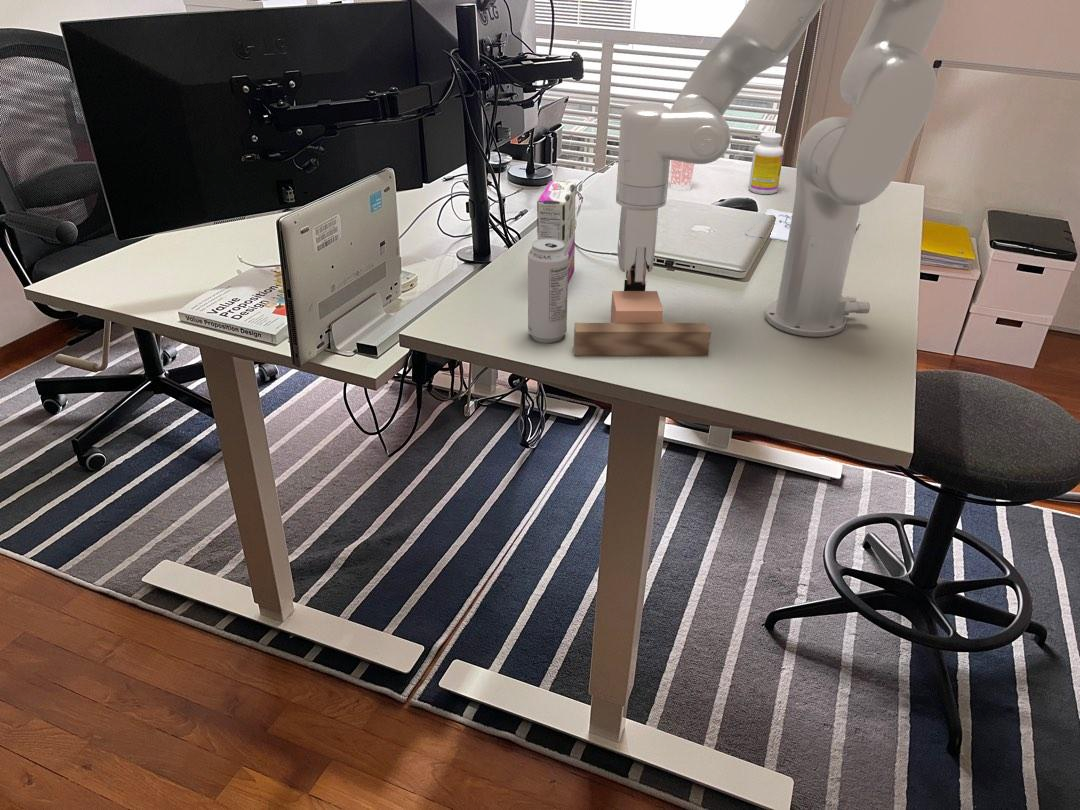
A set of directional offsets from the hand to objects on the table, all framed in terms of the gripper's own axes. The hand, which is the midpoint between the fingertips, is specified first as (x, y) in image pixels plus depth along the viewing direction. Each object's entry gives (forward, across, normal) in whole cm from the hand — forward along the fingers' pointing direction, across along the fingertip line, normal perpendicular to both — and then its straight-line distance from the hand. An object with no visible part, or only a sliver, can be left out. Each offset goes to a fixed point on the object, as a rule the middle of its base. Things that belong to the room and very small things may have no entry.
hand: (633, 304), depth 133 cm
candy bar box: (+3, -15, -12) cm, 20 cm away
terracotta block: (+3, +6, 0) cm, 6 cm away
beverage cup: (+3, -71, +17) cm, 73 cm away
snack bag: (+4, -44, +39) cm, 59 cm away
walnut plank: (+3, +11, 0) cm, 11 cm away
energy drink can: (+3, +6, -14) cm, 15 cm away
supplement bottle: (+3, -70, +36) cm, 79 cm away
